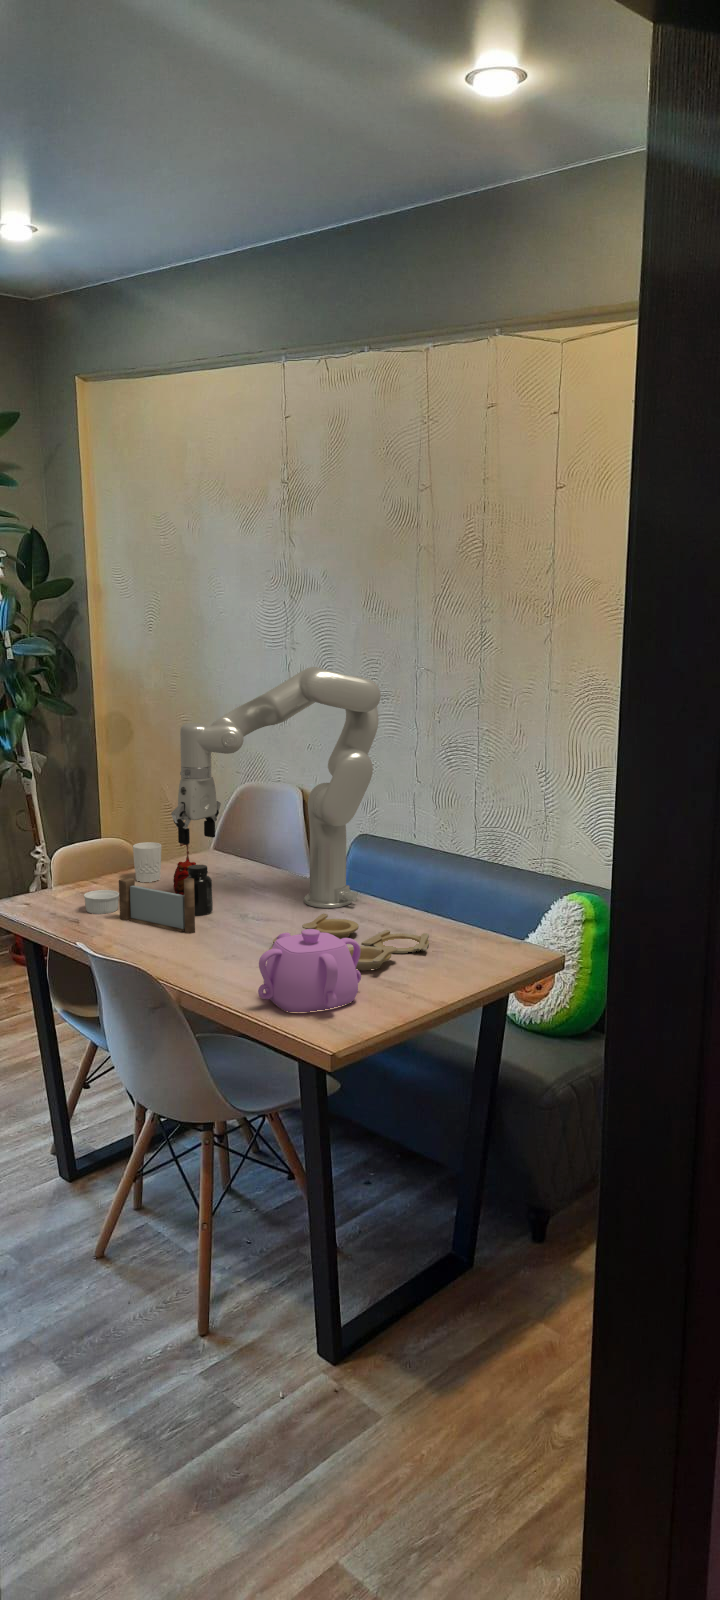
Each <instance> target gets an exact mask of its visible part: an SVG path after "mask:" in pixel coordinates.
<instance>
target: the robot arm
mask: <svg viewBox="0 0 720 1600" xmlns="http://www.w3.org/2000/svg"><path fill="white" fill-rule="evenodd" d="M380 701H381V690H380V688H379V686H378V685H377V684H376V682H374V681H373V680H371V679H368V678H365V677H362V676H358V675H349V674H345V673H344V674H343V673H339V672H335V671H332V670H329V669H326V668H322V667H317V666H310V667H307V668H305V669H303V670H301V671H299V672H297V674H294V675H293V676H292V677H290V678H288V679H286V680H285V681H283V682H282V683H280V684H278V685H277V686H275V687H273V688H271V689H270V690H269V691H266V692H265V693H263V694H261V695H259V696H257V697H255V698H253V699H251V700H249V701H246V702H244V703H243V704H241V705H239V706H237V707H236V708H234V709H232V710H230V711H229V712H227V713H226V714H224V715H222V716H220V717H219V718H217V719H216V720H214V722H212V723H211V724H210V725H209V724H206V723H204V722H202V723H201V722H189V723H184V724H183V725H181V727H180V731H179V732H180V736H179V737H180V740H179V741H180V745H179V746H180V772H179V775H180V780H179V786H178V794H177V795H178V796H177V807H176V808H175V809H173V810H172V812H171V814H170V816H171V817H172V820H173V823H174V824H175V826H176V828H177V829H178V831H177V834H178V835H177V839H178V840H177V841H178V843H179V844H180V843H182V844H188V845H189V844H190V834H191V833H190V828H189V825H190V823H191V822H192V821H199V820H204V819H205V820H204V821H203V834H204V837H208V838H216V822H217V820H218V818H217V817H218V816H219V814H220V808H221V805H222V803H221V802H220V801H218V800H217V792H216V784H215V781H214V777H213V776H212V753H216V754H217V753H218V754H228V755H229V754H234V753H236V752H238V751H239V750H240V749H241V748H242V746H243V744H244V739H245V738H244V737H246V736H247V735H249V734H251V733H253V732H254V731H257V730H259V729H261V728H265V727H269V726H276V725H278V724H281V723H284V722H285V721H288V720H289V719H290V718H292V717H293V716H295V715H297V714H298V713H300V712H301V711H303V710H305V709H307V708H309V707H310V706H312V705H313V704H314V703H318V704H322V705H325V706H329V707H333V708H338V709H343V710H345V721H344V724H343V727H342V729H341V733H340V734H339V737H338V739H337V741H336V744H335V746H334V748H333V750H332V752H331V754H330V756H329V758H328V761H327V769H328V772H329V773H330V775H331V779H330V782H321V783H319V784H316V786H314V787H313V788H312V790H311V791H310V793H309V795H308V798H307V799H308V800H307V813H308V821H309V822H308V823H309V824H308V825H309V893H308V894H306V895H305V896H304V897H303V902H304V904H306V905H307V906H310V907H315V908H323V909H324V908H325V909H333V908H334V909H335V908H341V907H346V906H348V905H350V904H351V903H352V902H356V901H357V899H358V891H351V890H350V885H348V884H347V824H349V822H351V820H353V818H354V817H355V815H356V813H357V811H358V809H359V807H360V805H361V802H362V800H363V798H364V797H365V794H366V792H367V790H368V788H369V786H370V783H371V780H372V777H373V770H374V766H373V762H372V759H371V758H370V756H369V752H370V750H371V747H372V745H373V743H374V739H375V737H376V735H377V731H378V727H379V711H378V705H379V704H380Z"/></svg>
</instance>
